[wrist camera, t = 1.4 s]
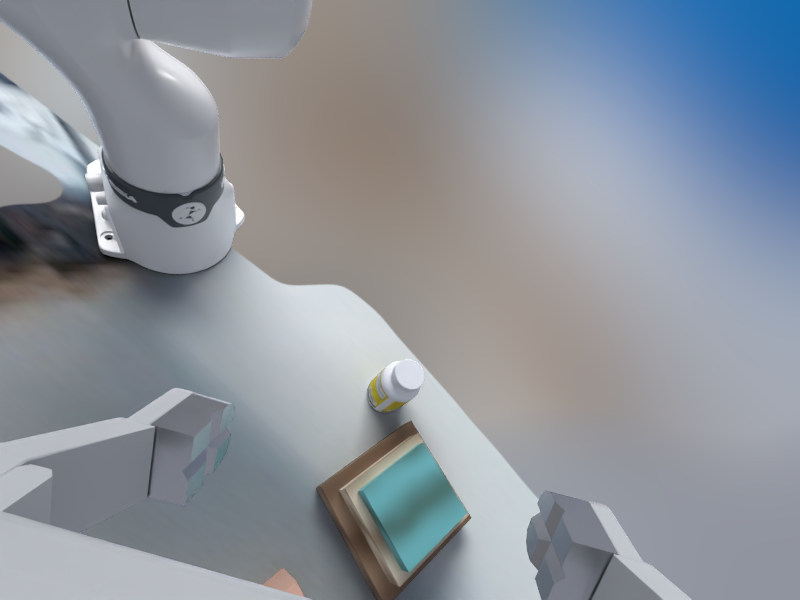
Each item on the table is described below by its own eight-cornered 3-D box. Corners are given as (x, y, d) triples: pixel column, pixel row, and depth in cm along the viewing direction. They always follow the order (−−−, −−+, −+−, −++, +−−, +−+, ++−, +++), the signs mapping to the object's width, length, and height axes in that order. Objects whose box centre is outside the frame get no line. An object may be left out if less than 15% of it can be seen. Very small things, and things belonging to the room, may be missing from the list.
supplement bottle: (407, 389, 56) (436, 369, 48) (390, 421, 52) (419, 405, 44) (377, 369, 55) (402, 345, 47) (359, 399, 52) (382, 379, 44)
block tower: (316, 487, 45) (330, 483, 39) (402, 425, 53) (426, 412, 46) (377, 601, 42) (404, 617, 36) (459, 517, 50) (493, 518, 43)
